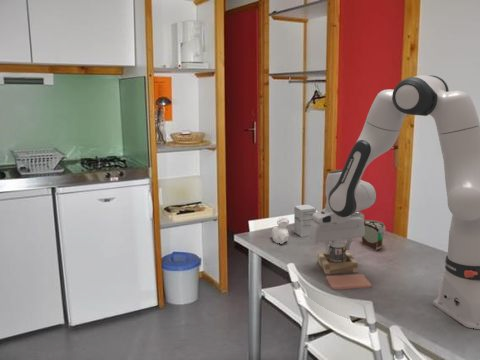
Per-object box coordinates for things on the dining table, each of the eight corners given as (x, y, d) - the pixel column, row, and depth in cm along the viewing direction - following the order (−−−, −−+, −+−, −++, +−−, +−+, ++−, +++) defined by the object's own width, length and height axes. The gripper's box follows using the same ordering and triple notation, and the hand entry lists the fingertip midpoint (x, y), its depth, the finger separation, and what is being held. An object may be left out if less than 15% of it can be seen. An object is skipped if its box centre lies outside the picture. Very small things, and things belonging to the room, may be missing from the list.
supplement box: (293, 232, 212) (293, 205, 210) (308, 230, 214) (308, 203, 212) (300, 237, 205) (300, 209, 203) (316, 235, 208) (316, 207, 205)
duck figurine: (287, 250, 196) (302, 227, 197) (274, 242, 193) (289, 219, 194) (275, 241, 207) (289, 220, 208) (262, 233, 204) (276, 211, 205)
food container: (391, 250, 187) (392, 226, 185) (378, 252, 185) (379, 228, 183) (372, 240, 199) (372, 218, 196) (359, 243, 196) (360, 220, 194)
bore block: (357, 272, 167) (357, 263, 166) (325, 274, 166) (325, 264, 165) (348, 260, 178) (348, 251, 177) (317, 261, 177) (317, 253, 177)
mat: (371, 287, 154) (371, 285, 154) (332, 289, 154) (332, 287, 153) (362, 276, 163) (362, 274, 163) (325, 278, 162) (325, 276, 162)
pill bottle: (346, 265, 169) (347, 239, 167) (331, 266, 169) (331, 239, 167) (343, 259, 174) (344, 234, 172) (328, 260, 174) (328, 234, 172)
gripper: (359, 209, 173) (359, 244, 176) (308, 214, 168) (308, 251, 171) (368, 213, 167) (367, 250, 170) (315, 219, 162) (315, 257, 165)
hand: (337, 250), depth 171 cm, fingers closed on pill bottle, 6 cm apart
